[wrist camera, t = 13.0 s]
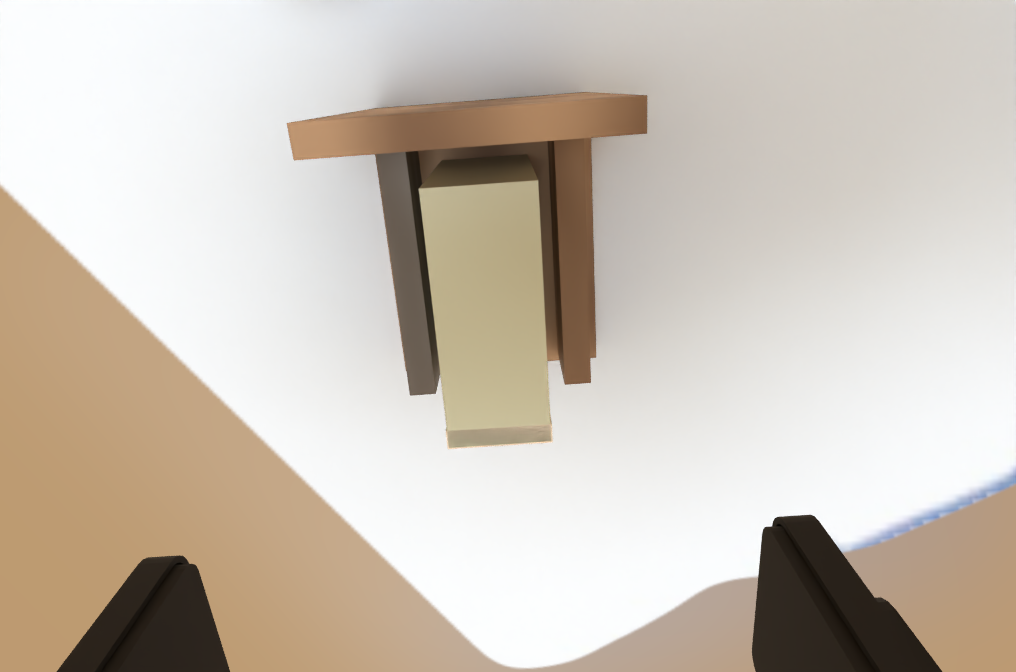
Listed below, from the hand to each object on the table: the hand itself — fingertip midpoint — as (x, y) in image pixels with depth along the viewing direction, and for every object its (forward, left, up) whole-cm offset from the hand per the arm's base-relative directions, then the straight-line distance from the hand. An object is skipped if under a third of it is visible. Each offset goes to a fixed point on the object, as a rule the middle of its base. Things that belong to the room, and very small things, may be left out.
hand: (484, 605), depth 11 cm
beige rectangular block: (0, 0, -23) cm, 23 cm away
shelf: (0, -1, -24) cm, 24 cm away
